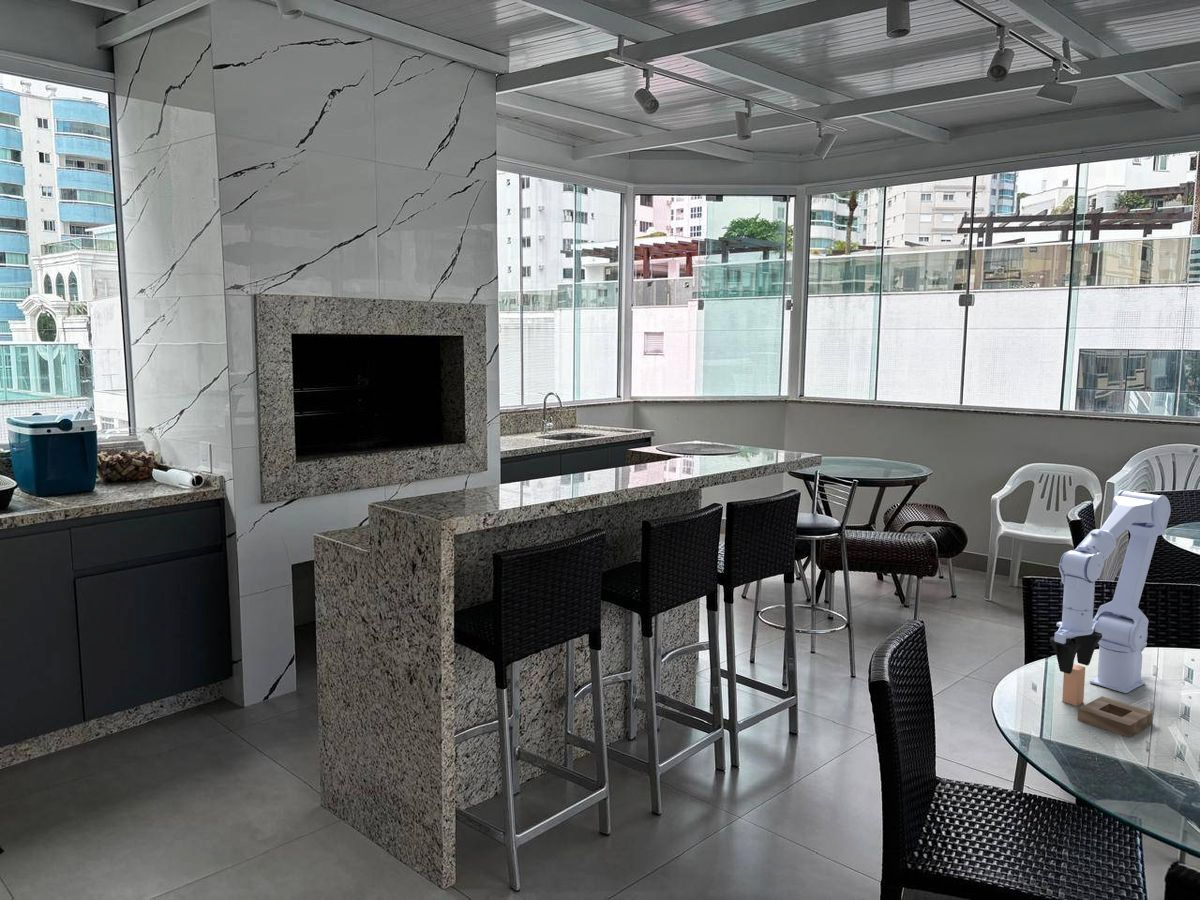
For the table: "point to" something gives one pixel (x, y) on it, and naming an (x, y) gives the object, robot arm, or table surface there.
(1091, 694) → the table surface
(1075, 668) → the peg
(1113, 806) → the table surface
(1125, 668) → the robot arm
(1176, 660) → the table surface
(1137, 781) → the table surface
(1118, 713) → the socket
